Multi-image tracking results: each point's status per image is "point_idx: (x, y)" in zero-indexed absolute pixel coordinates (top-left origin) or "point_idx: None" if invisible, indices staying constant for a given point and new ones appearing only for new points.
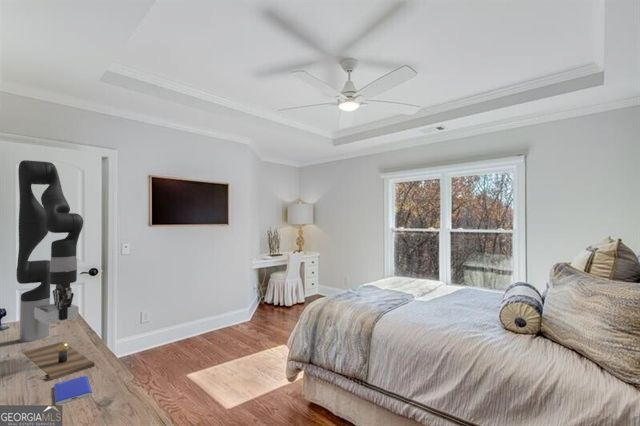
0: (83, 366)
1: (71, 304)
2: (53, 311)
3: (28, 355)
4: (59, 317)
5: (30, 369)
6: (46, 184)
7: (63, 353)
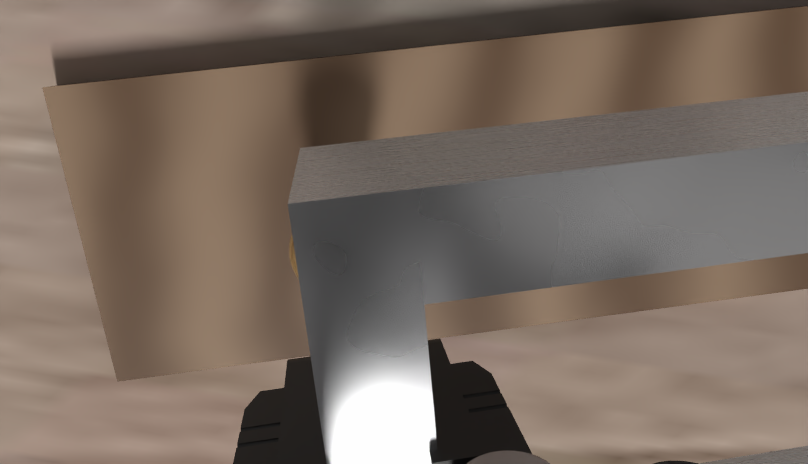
0: (100, 310)
1: None
2: (312, 350)
3: (727, 27)
4: (297, 376)
5: (433, 6)
6: None
7: None
